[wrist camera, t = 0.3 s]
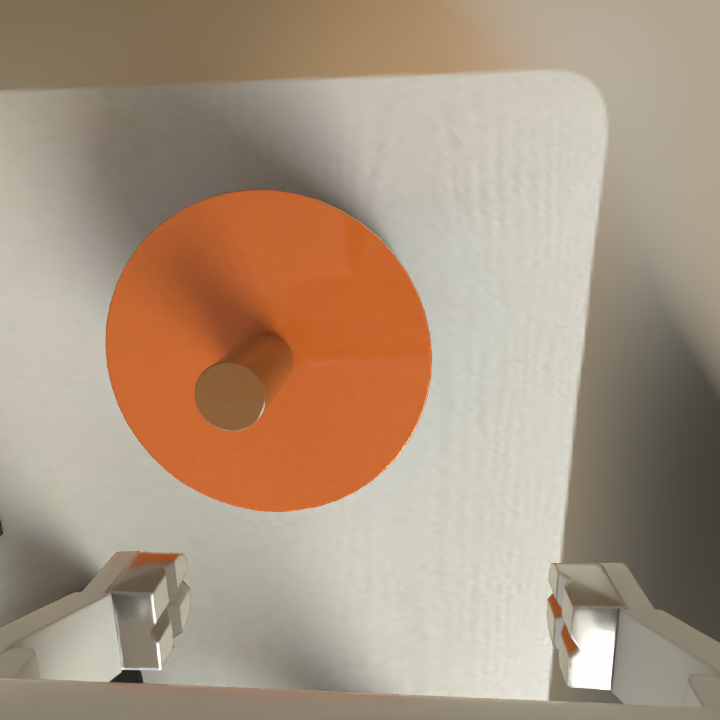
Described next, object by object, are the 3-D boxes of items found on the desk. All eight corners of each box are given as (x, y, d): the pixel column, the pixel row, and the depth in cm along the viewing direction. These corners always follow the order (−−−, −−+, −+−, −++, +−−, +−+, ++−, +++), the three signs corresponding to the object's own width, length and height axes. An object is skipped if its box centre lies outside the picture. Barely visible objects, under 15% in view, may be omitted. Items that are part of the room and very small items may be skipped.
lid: (96, 200, 24) (-7, 193, 18) (427, 181, 23) (434, 167, 17) (141, 501, 27) (66, 581, 21) (433, 498, 26) (442, 581, 20)
